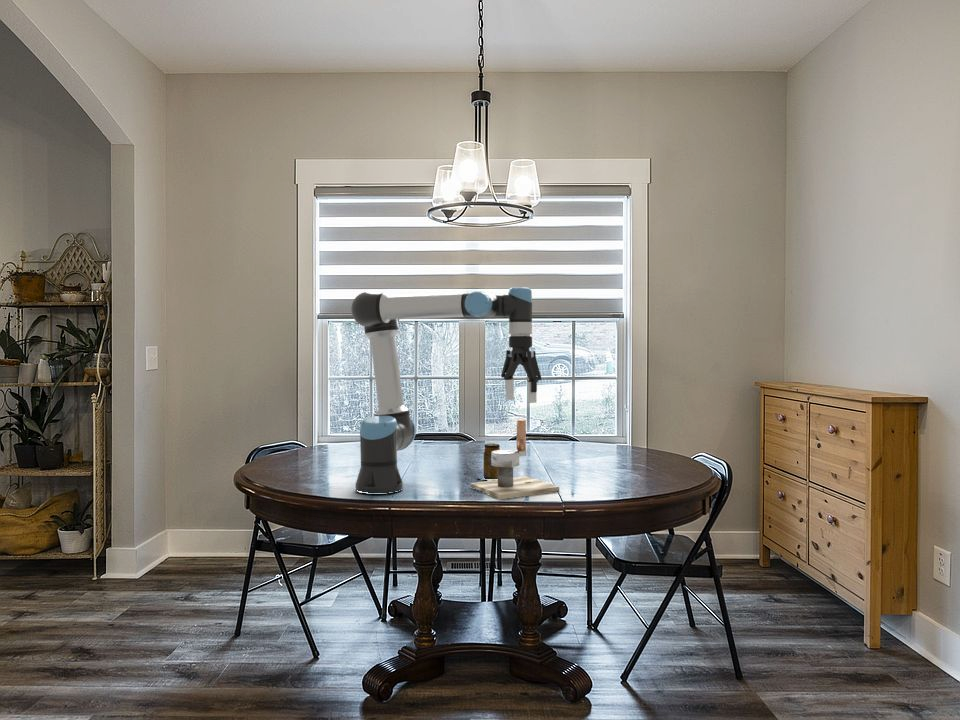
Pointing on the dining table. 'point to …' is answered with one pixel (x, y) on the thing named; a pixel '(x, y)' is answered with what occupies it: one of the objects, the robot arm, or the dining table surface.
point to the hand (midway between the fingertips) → (520, 401)
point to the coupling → (510, 456)
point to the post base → (513, 485)
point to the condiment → (490, 470)
